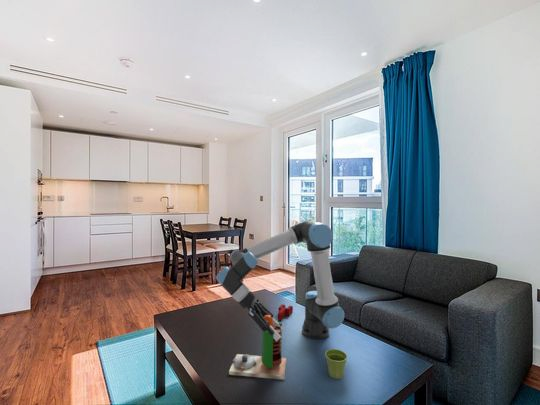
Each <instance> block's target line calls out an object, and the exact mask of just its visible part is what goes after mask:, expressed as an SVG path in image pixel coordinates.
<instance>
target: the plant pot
mask: <svg viewBox="0 0 540 405" xmlns="http://www.w3.org/2000/svg"><path fill="white" fill-rule="evenodd" d="M324 353H325V354H324V355H325V358H326V361H327V362H326V363H327V368H328V369H327V370H328V375H329V376H330V378H333V379H334V380H335V379H342V378H343V377H344V373H345V367H346V363H347V359H348V354H347V353H346V352H345V351H343V350H341V349H336V348H334V349H333V348H330V349H327V350H326V351H325V352H324Z"/></svg>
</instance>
